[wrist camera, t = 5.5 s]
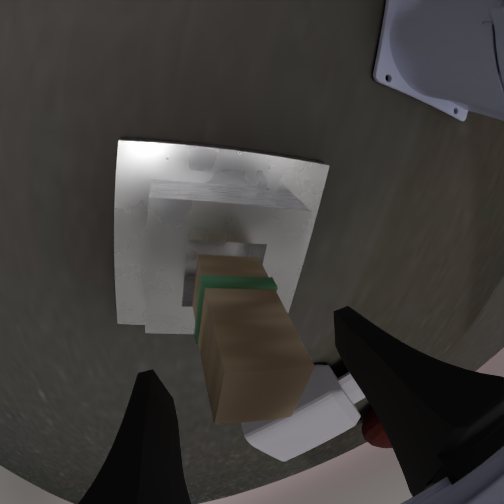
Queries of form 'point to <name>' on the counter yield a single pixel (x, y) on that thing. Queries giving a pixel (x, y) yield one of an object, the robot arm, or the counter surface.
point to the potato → (375, 431)
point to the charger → (309, 416)
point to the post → (246, 342)
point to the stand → (205, 222)
